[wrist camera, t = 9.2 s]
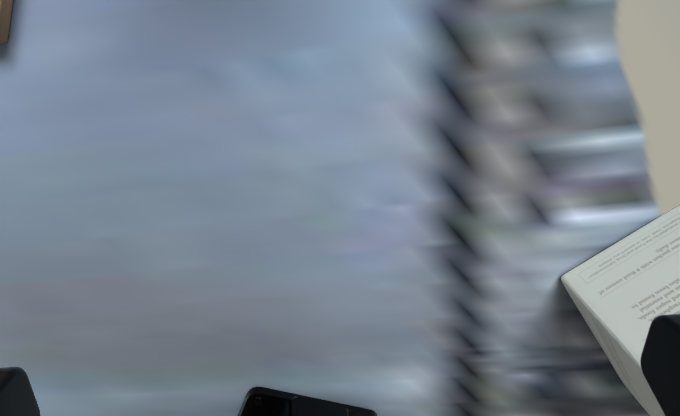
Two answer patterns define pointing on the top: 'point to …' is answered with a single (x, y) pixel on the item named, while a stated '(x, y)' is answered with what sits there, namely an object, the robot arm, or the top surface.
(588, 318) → the supplement box
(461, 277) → the top surface
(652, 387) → the robot arm
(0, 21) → the thin square board
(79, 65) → the top surface
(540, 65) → the top surface
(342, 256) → the top surface
